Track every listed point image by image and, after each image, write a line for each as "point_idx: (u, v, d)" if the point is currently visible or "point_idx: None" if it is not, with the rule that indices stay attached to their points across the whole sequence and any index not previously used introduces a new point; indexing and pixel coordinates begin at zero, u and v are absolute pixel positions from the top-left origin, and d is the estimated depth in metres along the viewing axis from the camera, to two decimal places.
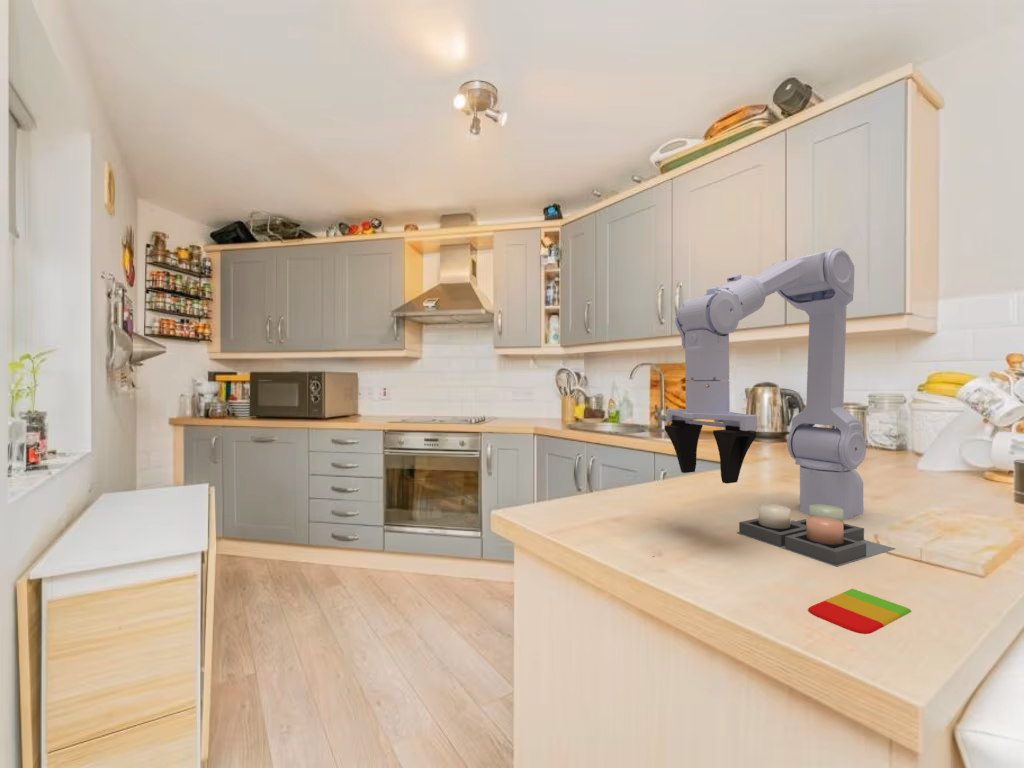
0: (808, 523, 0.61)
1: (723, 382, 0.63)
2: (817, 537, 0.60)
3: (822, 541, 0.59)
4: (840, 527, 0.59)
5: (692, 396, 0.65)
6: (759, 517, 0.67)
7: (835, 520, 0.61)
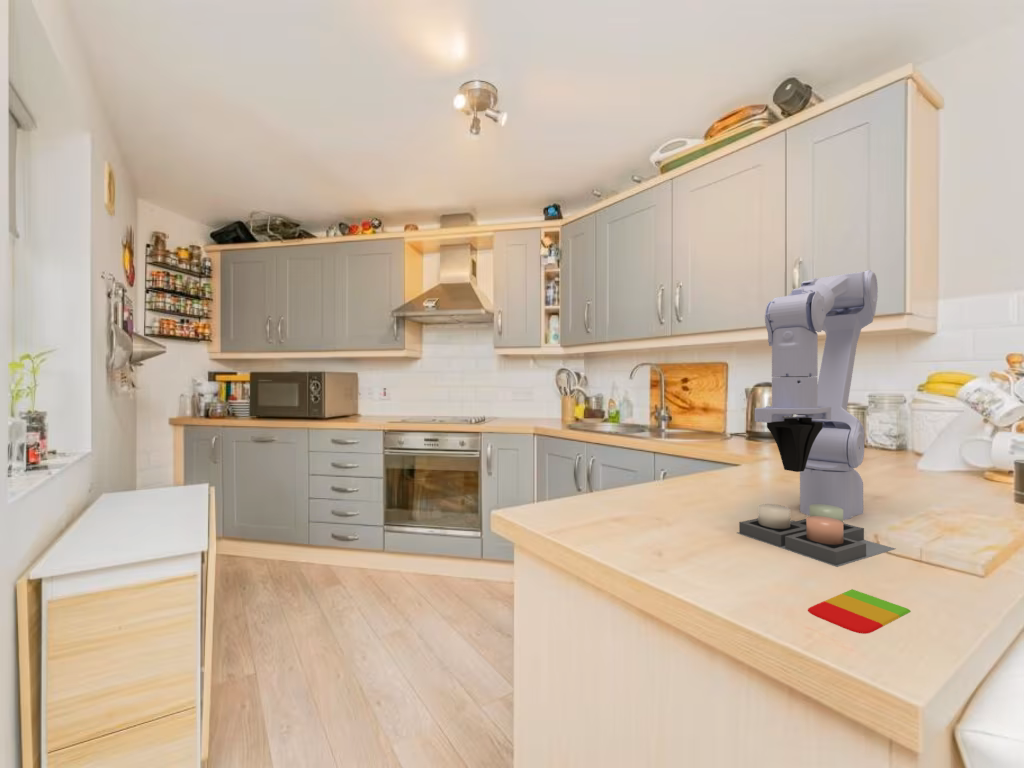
0: (808, 523, 0.61)
1: (781, 378, 0.67)
2: (817, 537, 0.60)
3: (822, 541, 0.59)
4: (840, 527, 0.59)
5: None
6: (759, 517, 0.67)
7: (835, 520, 0.61)
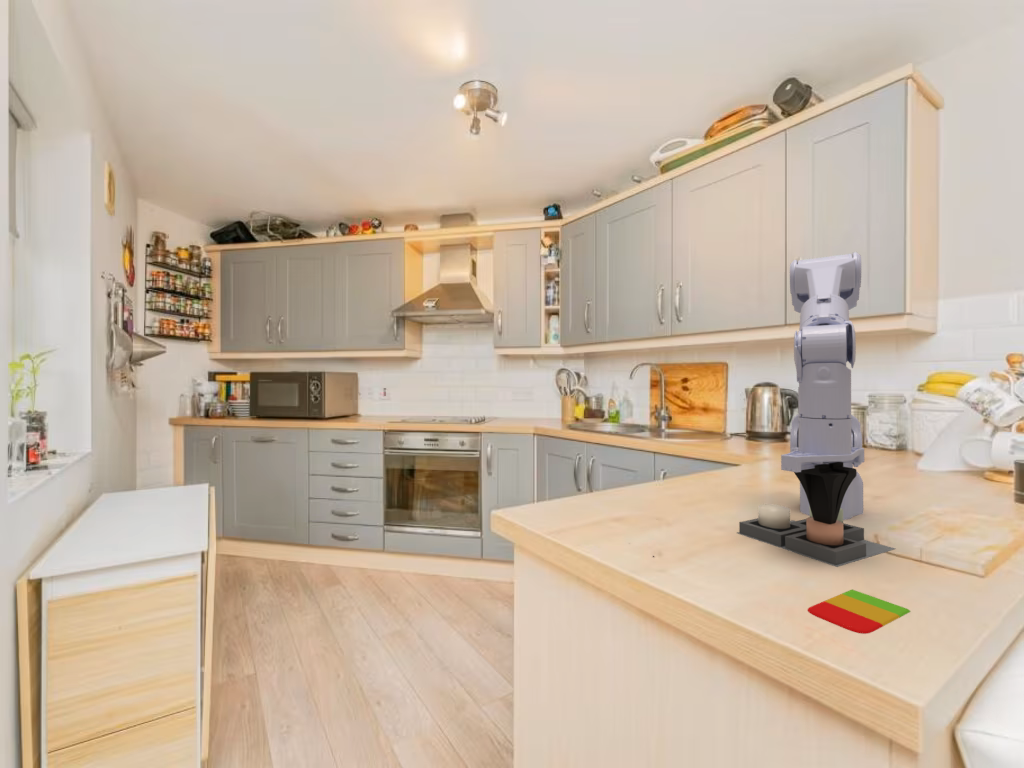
0: (808, 524, 0.61)
1: (810, 420, 0.59)
2: (817, 538, 0.60)
3: (822, 542, 0.59)
4: (840, 528, 0.59)
5: None
6: (759, 517, 0.67)
7: None
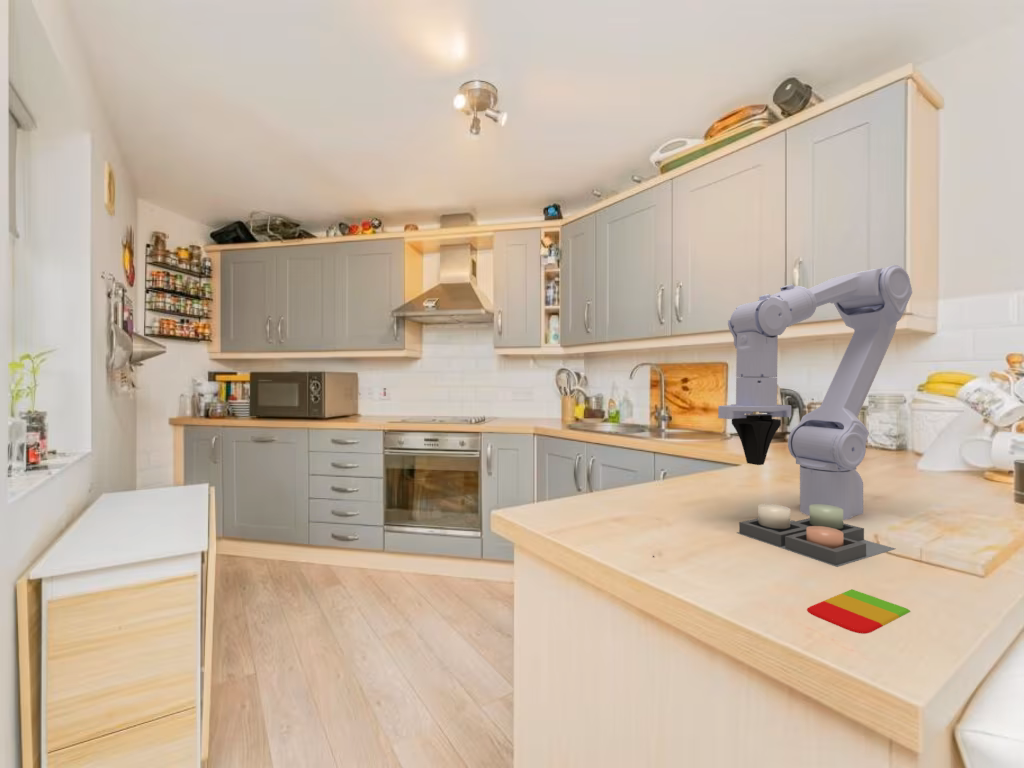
0: (808, 533, 0.61)
1: (744, 378, 0.72)
2: None
3: None
4: (840, 537, 0.59)
5: None
6: (759, 517, 0.67)
7: (835, 530, 0.61)
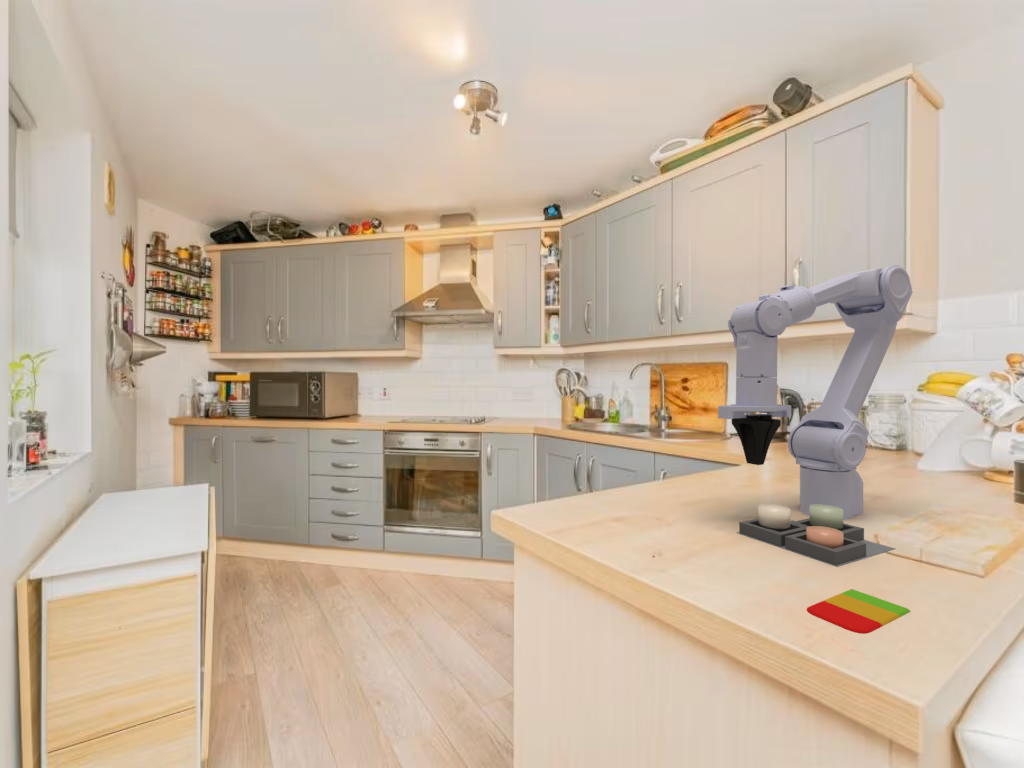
0: (808, 533, 0.61)
1: (744, 378, 0.72)
2: None
3: None
4: (840, 537, 0.59)
5: None
6: (759, 517, 0.67)
7: (835, 530, 0.61)
